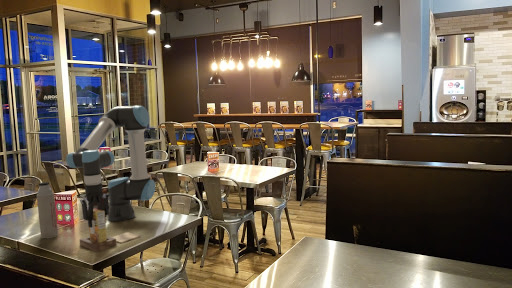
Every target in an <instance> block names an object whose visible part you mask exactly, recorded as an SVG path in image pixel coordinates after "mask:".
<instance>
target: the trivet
mask: <svg viewBox="0 0 512 288" xmlns="http://www.w3.org/2000/svg"><path fill="white" fill-rule="evenodd" d="M110 237H111V238H115V239H116V243H119V244H123V243H126V242H130V241H133V240H135V239H138V238H140V237H141V235H140V234H136V233H132V232H129V231H126V232H124V233H121V234H117V235H114V236H110Z"/></svg>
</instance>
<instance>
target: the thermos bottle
mask: <svg viewBox="0 0 512 288" xmlns="http://www.w3.org/2000/svg"><path fill="white" fill-rule="evenodd" d="M38 188H39V189H37V194H36V203H37V212H38V221H39V230H40V231H39V232H40V238H41V239H43V238H47V239H52V237H53V238H55V237H57V236H58V235H59V232H58V231H59V229H58V221H57V220H58V219H57V212H56V211H57V210H56V202H55V193H54V192H53V189H52V188H51V187H50V182H47V181H45V182H40V183H38Z"/></svg>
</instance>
